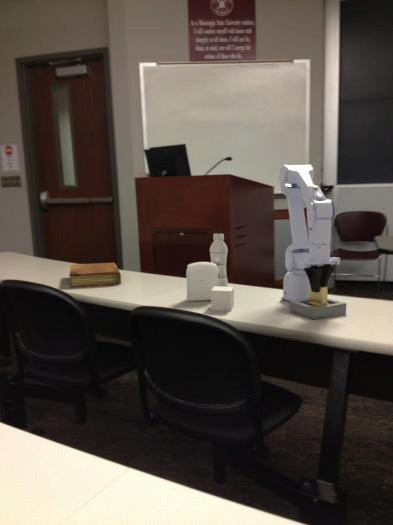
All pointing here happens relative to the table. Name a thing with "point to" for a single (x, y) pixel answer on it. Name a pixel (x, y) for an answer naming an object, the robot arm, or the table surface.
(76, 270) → the diary
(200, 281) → the photo printer
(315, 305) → the yellow block
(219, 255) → the plastic bottle
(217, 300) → the off-white cube
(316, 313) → the grey well
